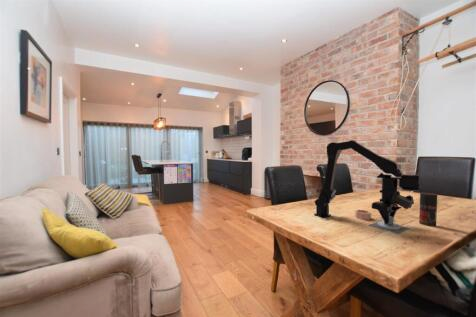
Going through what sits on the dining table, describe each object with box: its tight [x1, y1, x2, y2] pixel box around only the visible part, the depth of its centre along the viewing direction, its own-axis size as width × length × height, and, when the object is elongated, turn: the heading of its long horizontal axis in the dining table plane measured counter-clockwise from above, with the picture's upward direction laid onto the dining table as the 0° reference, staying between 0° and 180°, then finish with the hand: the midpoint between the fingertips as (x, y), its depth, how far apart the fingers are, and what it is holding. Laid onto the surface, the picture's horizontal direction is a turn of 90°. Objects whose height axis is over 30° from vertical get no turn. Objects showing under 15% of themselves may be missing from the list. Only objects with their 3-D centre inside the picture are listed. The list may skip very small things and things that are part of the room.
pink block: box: [354, 209, 372, 221], centre depth 109 cm, size 6×6×4 cm
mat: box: [367, 220, 411, 235], centre depth 96 cm, size 12×12×1 cm
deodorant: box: [418, 192, 438, 227], centre depth 99 cm, size 6×6×15 cm
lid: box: [376, 216, 401, 230], centre depth 96 cm, size 8×8×4 cm
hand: (388, 222), depth 96 cm, fingers closed on lid, 3 cm apart
